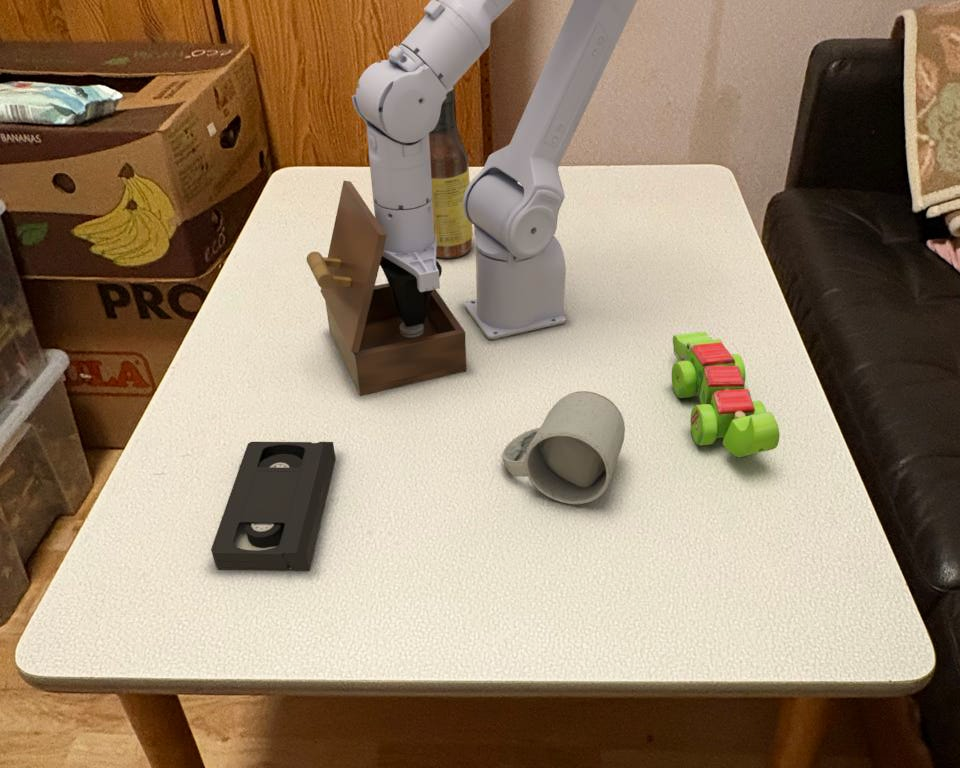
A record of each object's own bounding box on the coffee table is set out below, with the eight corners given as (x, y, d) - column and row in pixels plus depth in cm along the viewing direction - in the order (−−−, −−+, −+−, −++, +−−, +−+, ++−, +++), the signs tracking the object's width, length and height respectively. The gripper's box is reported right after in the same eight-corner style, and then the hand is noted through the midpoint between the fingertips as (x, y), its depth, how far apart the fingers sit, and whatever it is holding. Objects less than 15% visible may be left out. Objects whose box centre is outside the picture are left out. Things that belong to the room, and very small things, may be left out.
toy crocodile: (658, 358, 97) (665, 309, 93) (719, 355, 97) (729, 305, 93) (709, 481, 82) (720, 429, 78) (781, 476, 83) (796, 423, 79)
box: (428, 312, 105) (426, 275, 101) (466, 371, 96) (465, 332, 93) (329, 333, 102) (324, 295, 98) (360, 395, 93) (355, 356, 90)
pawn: (411, 341, 96) (409, 308, 94) (394, 332, 98) (392, 299, 95) (429, 331, 98) (427, 298, 95) (412, 322, 99) (410, 290, 97)
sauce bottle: (482, 244, 117) (479, 84, 103) (455, 265, 113) (449, 101, 100) (439, 232, 119) (432, 74, 106) (412, 252, 115) (400, 91, 102)
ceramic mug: (625, 455, 85) (632, 388, 80) (606, 513, 79) (612, 444, 74) (517, 435, 88) (516, 369, 83) (491, 490, 82) (489, 422, 77)
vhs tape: (252, 457, 86) (248, 441, 84) (335, 458, 85) (333, 441, 84) (214, 569, 75) (209, 552, 74) (309, 570, 75) (306, 553, 74)
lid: (351, 181, 91) (310, 174, 90) (387, 235, 83) (343, 229, 81) (327, 292, 98) (289, 288, 96) (358, 353, 89) (317, 350, 88)
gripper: (343, 175, 92) (357, 293, 101) (384, 237, 82) (395, 363, 91) (409, 164, 94) (417, 281, 103) (458, 223, 83) (462, 348, 93)
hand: (411, 319), depth 97 cm, fingers closed on pawn
